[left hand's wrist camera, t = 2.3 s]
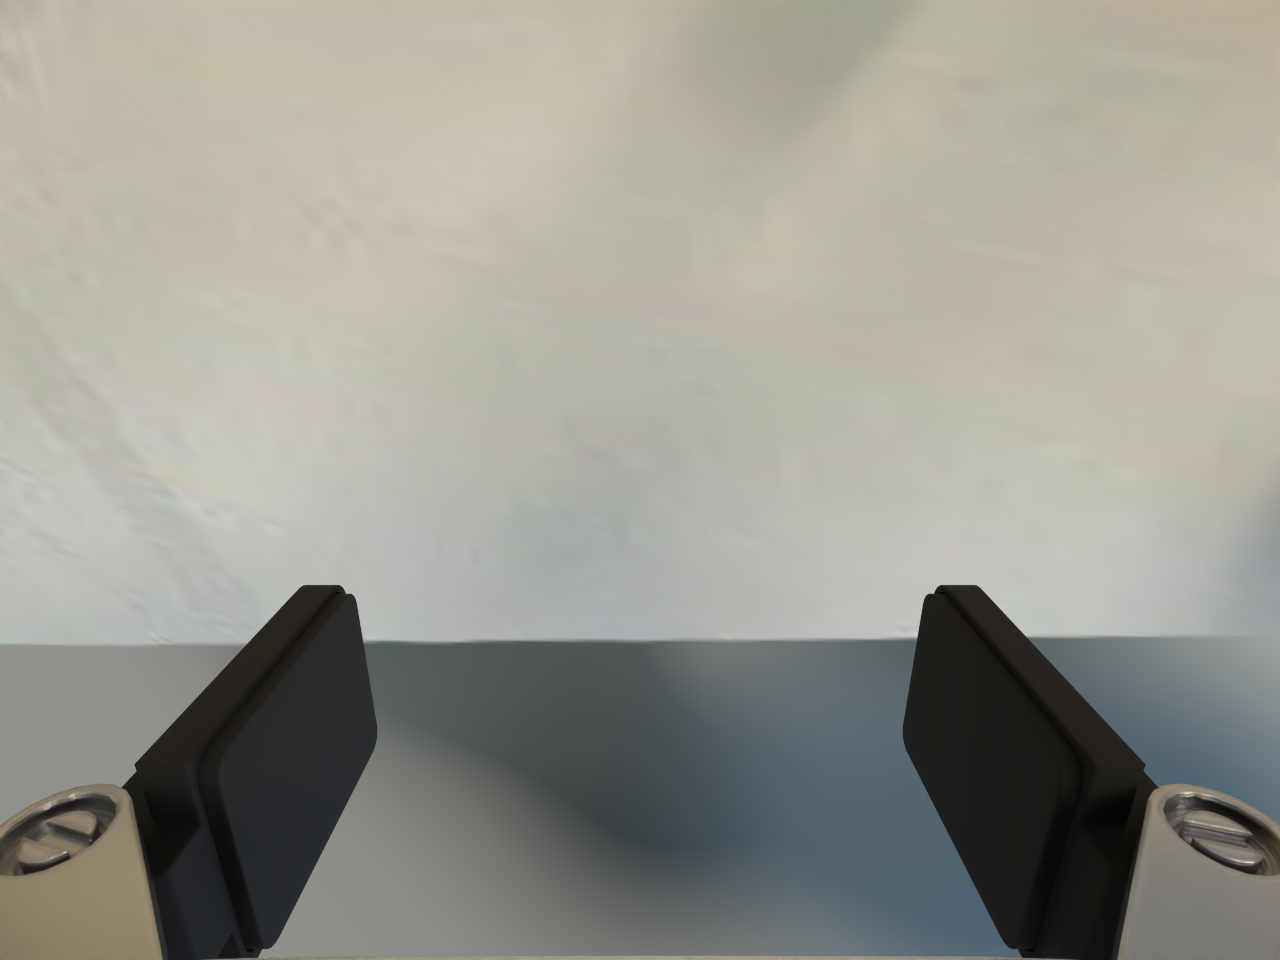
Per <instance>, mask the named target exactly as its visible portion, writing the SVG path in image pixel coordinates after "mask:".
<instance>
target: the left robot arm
mask: <svg viewBox="0 0 1280 960" xmlns="http://www.w3.org/2000/svg"><path fill="white" fill-rule="evenodd" d="M376 739H377V723H376V717H375V711H374V705H373V699H372V693H371V687H370V681H369V675H368V669H367V662H366V656H365V650H364V644H363V638H362V632H361V626H360V620H359V614H358V608H357V603H356V599H355V597H354V595H352V594H346V593H345V590H344V589H343V587H341V586H340V585H303V586H302V587H301V588H299V589H298V590H297V591H296V592H295V594H294V595H293V596H292V597H291V598H290V599H289V600H288V601H287V602H286V603H285V604H284V605H283V606H282V607H281V608H280V610H279V611H278V612H277V613H276V614H275V615H274V616H273V617H272V618H271V619H270V620H269V621H268V622H267V623H266V624H265V626H264V627H263V628H262V629H261V630H260V631H259V632H258V633H257V634H256V635H255V636H254V637H253V638H252V639H251V641H250V642H249V643H248V644H247V645H246V646H245V647H244V648H243V649H242V650H241V651H240V652H239V653H238V654H237V655H236V657H235V658H234V659H233V660H232V661H231V662H230V663H229V664H228V665H227V666H226V667H225V668H224V669H223V670H222V671H221V673H220V674H219V675H218V676H217V677H216V678H215V679H214V680H213V681H212V682H211V683H210V684H209V685H208V686H207V688H206V689H205V690H204V691H203V692H202V693H201V694H200V695H199V696H198V697H197V698H196V699H195V700H194V701H193V703H192V704H191V705H190V706H189V707H188V708H187V709H186V710H185V711H184V712H183V713H182V714H181V715H180V716H179V717H178V718H177V720H176V721H175V722H174V723H173V724H172V725H171V726H170V727H169V728H168V729H167V730H166V731H165V732H164V733H163V735H162V736H161V737H160V738H159V739H158V740H157V741H156V742H155V743H154V744H153V745H152V746H151V747H150V748H149V749H148V751H147V752H146V753H145V754H144V755H143V756H142V757H141V758H140V759H139V760H138V761H137V762H136V763H135V767H136V770H137V771H136V773H135V774H134V775H133V776H132V777H131V778H130V779H129V780H128V781H127V782H126V783H125V785H124V786H123V787H122V788H120V787H118V786H116V785H109V784H93V785H86V786H80V787H75V788H72V789H68V790H65V791H62V792H59V793H56V794H53V795H51V796H49V797H47V798H44V799H42V800H40V801H38V802H36V803H34V804H32V805H30V806H28V807H26V808H25V809H23V810H22V811H20V812H18V813H17V814H15V815H14V816H12V817H10V818H9V819H7V820H6V821H5V822H4V823H3V824H1V825H0V960H1280V825H1279V824H1277V823H1276V822H1275V821H1274V820H1273V819H1271V818H1270V817H1268V816H1266V815H1265V814H1263V813H1262V812H1260V811H1258V810H1257V809H1255V808H1254V807H1252V806H1251V805H1248V804H1246V803H1244V802H1242V801H1240V800H1238V799H1236V798H1233V797H1231V796H1229V795H1227V794H1224V793H1221V792H1218V791H1215V790H1212V789H1208V788H1205V787H1201V786H1194V785H1188V784H1171V785H1164V786H1162V787H1160V788H1158V787H1157V786H1156V784H1155V783H1154V782H1153V781H1152V780H1151V779H1150V778H1149V777H1148V776H1147V775H1146V774H1145V773H1144V771H1143V770H1144V767H1145V763H1144V762H1143V761H1142V760H1141V759H1140V758H1139V757H1138V756H1137V755H1136V754H1135V753H1134V752H1133V751H1132V749H1131V748H1130V747H1129V746H1128V745H1127V744H1126V743H1125V742H1124V741H1123V740H1122V739H1121V738H1120V737H1119V736H1118V735H1117V733H1116V732H1115V731H1114V730H1113V729H1112V728H1111V727H1110V726H1109V725H1108V724H1107V723H1106V722H1105V721H1104V720H1103V718H1102V717H1101V716H1100V715H1099V714H1098V713H1097V712H1096V711H1095V710H1094V709H1093V708H1092V707H1091V706H1090V705H1089V704H1088V702H1087V701H1086V700H1085V699H1084V698H1083V697H1082V696H1081V695H1080V694H1079V693H1078V692H1077V691H1076V690H1075V689H1074V688H1073V686H1072V685H1071V684H1070V683H1069V682H1068V681H1067V680H1066V679H1065V678H1064V677H1063V676H1062V675H1061V674H1060V673H1059V672H1058V670H1057V669H1056V668H1055V667H1054V666H1053V665H1052V664H1051V663H1050V662H1049V661H1048V660H1047V659H1046V658H1045V657H1044V656H1043V654H1042V653H1041V652H1040V651H1039V650H1038V649H1037V648H1036V647H1035V646H1034V645H1033V644H1032V643H1031V642H1030V641H1029V639H1028V638H1027V637H1026V636H1025V635H1024V634H1023V633H1022V632H1021V631H1020V630H1019V629H1018V628H1017V627H1016V626H1015V624H1014V623H1013V622H1012V621H1011V620H1010V619H1009V618H1008V617H1007V616H1006V615H1005V614H1004V613H1003V612H1002V611H1001V610H1000V608H999V607H998V606H997V605H996V604H995V603H994V602H993V601H992V600H991V599H990V598H989V597H988V596H987V595H986V594H985V592H984V591H983V590H982V589H981V588H979V587H978V586H977V585H940V586H939V587H937V589H936V590H935V593H934V594H928V595H926V597H925V599H924V603H923V608H922V614H921V620H920V626H919V632H918V638H917V644H916V650H915V656H914V663H913V669H912V675H911V681H910V687H909V693H908V699H907V705H906V711H905V717H904V723H903V739H904V744H905V748H906V750H907V753H908V755H909V757H910V758H911V761H912V763H913V764H914V766H915V768H916V770H917V772H918V774H919V776H920V778H921V780H922V782H923V784H924V786H925V788H926V790H927V792H928V794H929V796H930V798H931V800H932V802H933V804H934V806H935V808H936V810H937V812H938V814H939V816H940V818H941V820H942V822H943V824H944V826H945V828H946V830H947V832H948V833H949V836H950V837H951V839H952V841H953V843H954V845H955V847H956V849H957V851H958V853H959V855H960V857H961V859H962V861H963V863H964V865H965V867H966V869H967V871H968V873H969V875H970V877H971V879H972V881H973V883H974V885H975V887H976V889H977V891H978V893H979V895H980V897H981V899H982V901H983V903H984V905H985V907H986V909H987V911H988V912H989V914H990V916H991V918H992V920H993V922H994V924H995V926H996V928H997V930H998V932H999V934H1000V936H1001V938H1002V940H1003V941H1004V943H1005V944H1006V945H1007V946H1008V947H1009V948H1012V949H1018V950H1019V952H1020V954H1021V956H1022V958H1006V957H872V956H867V957H866V956H416V957H415V956H410V957H409V956H408V957H406V956H405V957H273V958H258V956H259V954H260V952H261V950H262V949H268V948H271V947H272V946H273V945H274V944H275V943H276V941H277V940H278V938H279V936H280V934H281V932H282V930H283V928H284V926H285V924H286V922H287V920H288V918H289V917H290V914H291V913H292V910H293V909H294V907H295V905H296V903H297V901H298V899H299V897H300V895H301V893H302V891H303V889H304V887H305V885H306V883H307V881H308V879H309V877H310V875H311V873H312V871H313V869H314V867H315V865H316V863H317V861H318V859H319V857H320V855H321V853H322V851H323V849H324V847H325V845H326V843H327V841H328V840H329V838H330V836H331V834H332V831H333V830H334V828H335V826H336V824H337V822H338V820H339V818H340V816H341V814H342V812H343V810H344V808H345V806H346V804H347V802H348V800H349V798H350V796H351V794H352V792H353V790H354V788H355V786H356V784H357V782H358V780H359V778H360V776H361V774H362V772H363V770H364V768H365V766H366V764H367V763H368V761H369V759H370V757H371V755H372V753H373V750H374V748H375V744H376Z"/></svg>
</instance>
